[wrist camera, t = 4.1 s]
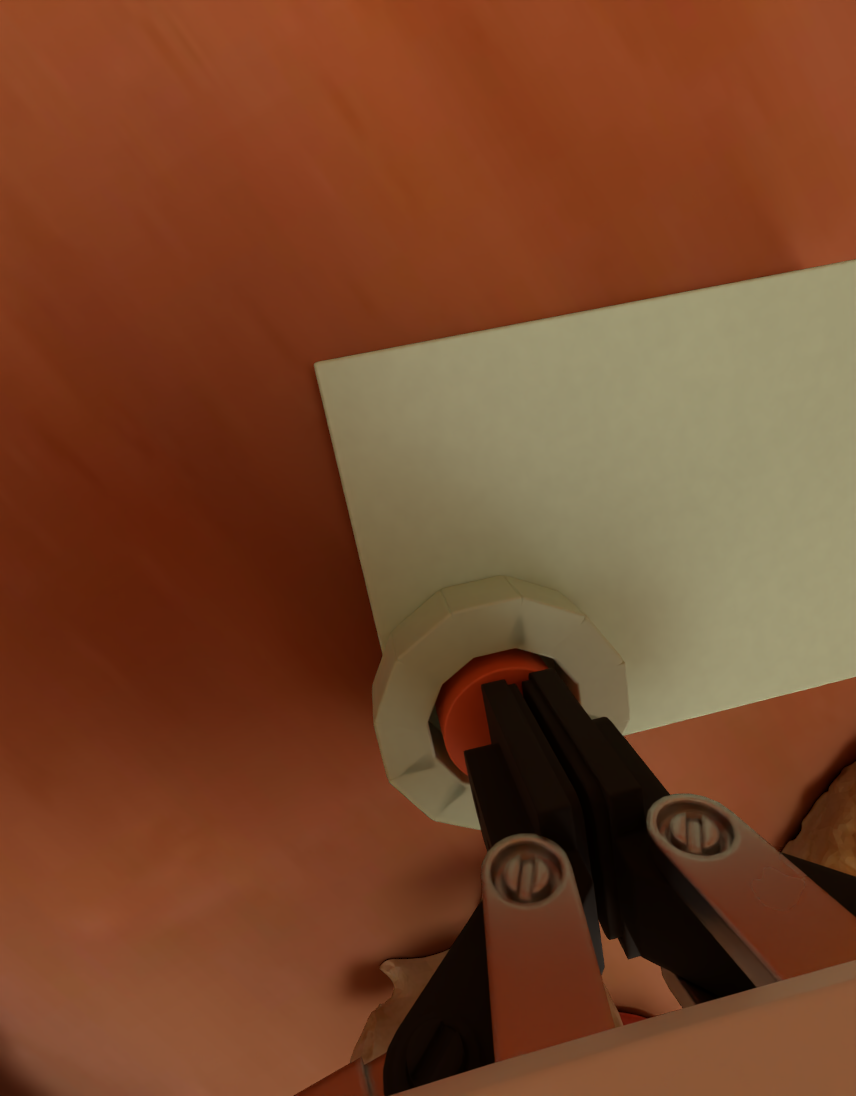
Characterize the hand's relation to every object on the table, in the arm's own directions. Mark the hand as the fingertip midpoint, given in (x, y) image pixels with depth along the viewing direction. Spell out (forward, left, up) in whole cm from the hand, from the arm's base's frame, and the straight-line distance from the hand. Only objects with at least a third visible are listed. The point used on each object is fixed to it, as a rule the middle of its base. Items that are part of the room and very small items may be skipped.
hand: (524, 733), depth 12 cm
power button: (0, 0, -2) cm, 2 cm away
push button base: (+4, +3, -4) cm, 6 cm away
